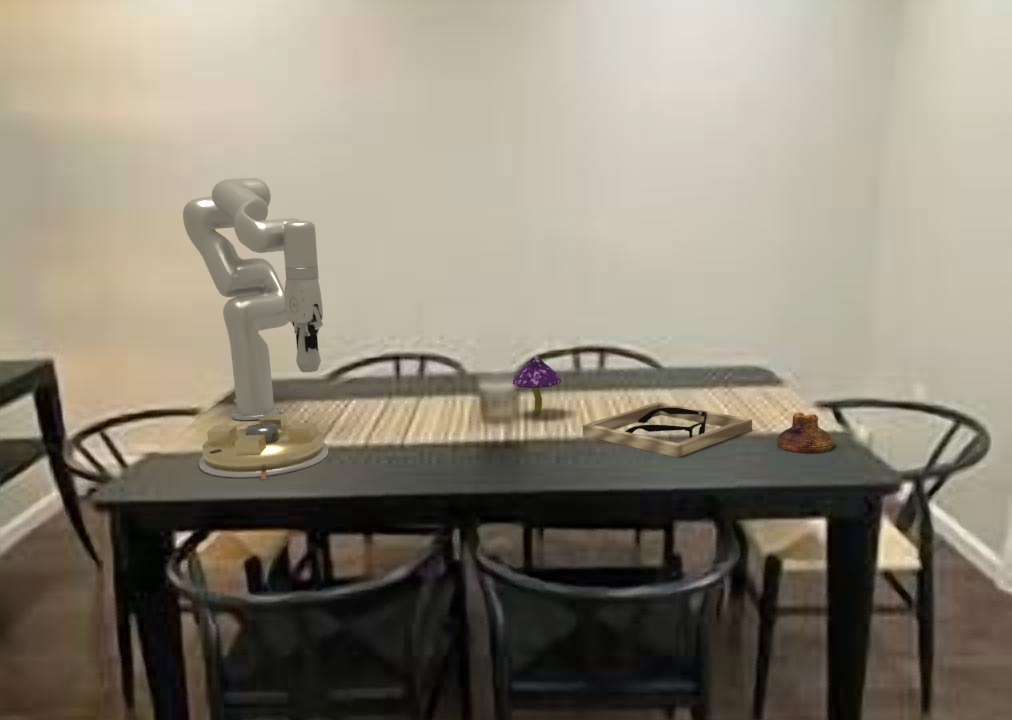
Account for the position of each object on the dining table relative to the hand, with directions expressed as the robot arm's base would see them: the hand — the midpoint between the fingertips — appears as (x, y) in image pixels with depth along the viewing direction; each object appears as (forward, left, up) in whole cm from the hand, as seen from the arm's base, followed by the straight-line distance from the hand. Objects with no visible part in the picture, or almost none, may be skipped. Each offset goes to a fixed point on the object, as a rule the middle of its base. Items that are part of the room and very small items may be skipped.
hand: (307, 350), depth 240 cm
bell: (+96, +62, -21) cm, 116 cm away
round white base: (+10, -19, -21) cm, 30 cm away
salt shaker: (0, 0, -5) cm, 5 cm away
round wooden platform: (+10, -19, -19) cm, 29 cm away
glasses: (+66, +52, -21) cm, 87 cm away
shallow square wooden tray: (+67, +52, -21) cm, 87 cm away
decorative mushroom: (+32, +45, -21) cm, 59 cm away
